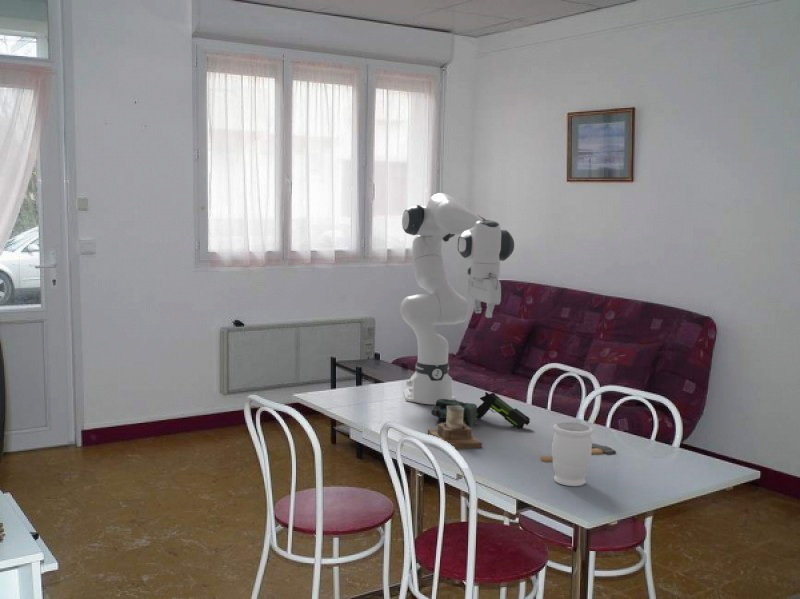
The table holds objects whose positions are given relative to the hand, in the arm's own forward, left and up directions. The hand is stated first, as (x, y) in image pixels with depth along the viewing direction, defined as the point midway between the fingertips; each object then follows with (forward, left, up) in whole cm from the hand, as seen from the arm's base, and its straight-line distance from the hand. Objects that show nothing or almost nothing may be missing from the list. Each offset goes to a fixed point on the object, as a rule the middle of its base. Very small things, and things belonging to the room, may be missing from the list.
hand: (483, 315), depth 267 cm
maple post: (+12, -12, -36) cm, 39 cm away
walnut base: (+12, -12, -37) cm, 41 cm away
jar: (+52, +7, -37) cm, 64 cm away
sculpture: (-9, -4, -38) cm, 39 cm away
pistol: (-5, +10, -38) cm, 39 cm away
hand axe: (+29, +19, -38) cm, 52 cm away
